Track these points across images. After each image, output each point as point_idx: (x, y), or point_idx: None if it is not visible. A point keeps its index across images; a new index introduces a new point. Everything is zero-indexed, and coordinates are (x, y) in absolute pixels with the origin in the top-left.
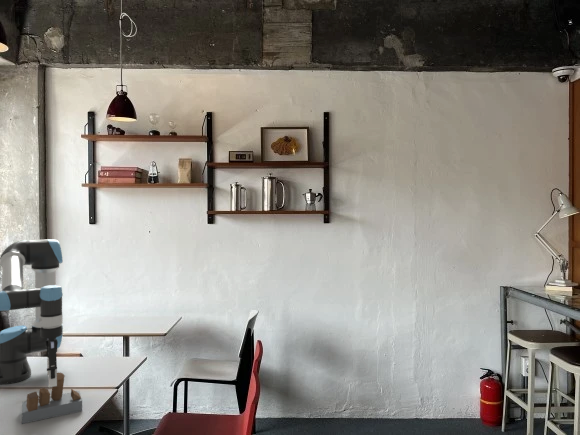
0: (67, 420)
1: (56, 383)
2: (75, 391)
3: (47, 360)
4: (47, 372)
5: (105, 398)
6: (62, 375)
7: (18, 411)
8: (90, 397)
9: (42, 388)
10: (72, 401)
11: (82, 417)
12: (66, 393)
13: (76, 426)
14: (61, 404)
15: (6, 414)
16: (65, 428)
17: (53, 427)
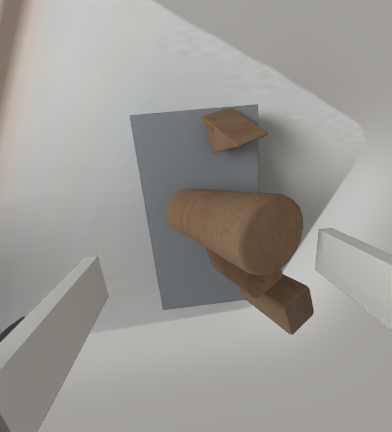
0: (293, 163)
1: (344, 236)
2: (222, 128)
3: (37, 429)
4: (100, 310)
5: (159, 7)
6: (275, 210)
7: (156, 296)
8: (123, 77)
9: (256, 288)
10: (247, 145)
11: (298, 114)
12: (142, 172)
13: (353, 135)
14: (255, 186)
15: (164, 319)
16: (346, 167)
17: (318, 200)
